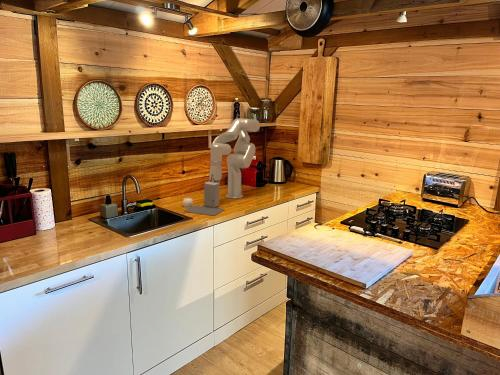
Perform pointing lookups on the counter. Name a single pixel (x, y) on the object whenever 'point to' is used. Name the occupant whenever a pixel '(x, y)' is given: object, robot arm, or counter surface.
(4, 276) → the counter surface
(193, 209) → the mat
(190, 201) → the white round piece
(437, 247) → the counter surface
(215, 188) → the skincare box
